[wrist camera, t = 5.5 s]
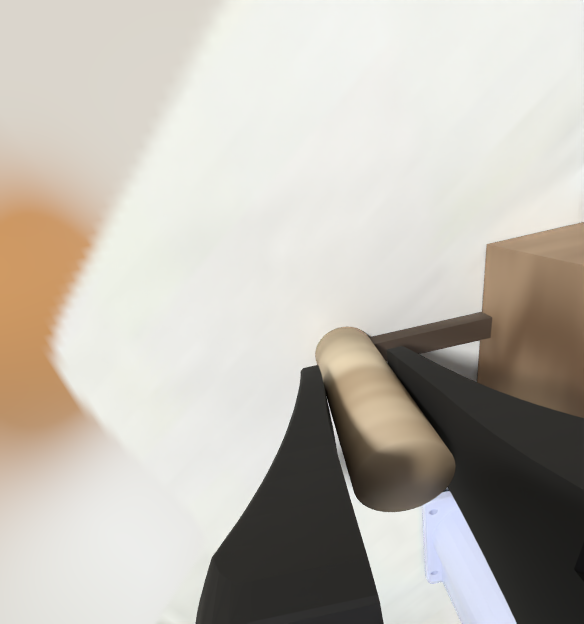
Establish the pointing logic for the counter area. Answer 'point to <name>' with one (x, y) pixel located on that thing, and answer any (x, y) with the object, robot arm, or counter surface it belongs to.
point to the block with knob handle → (491, 369)
